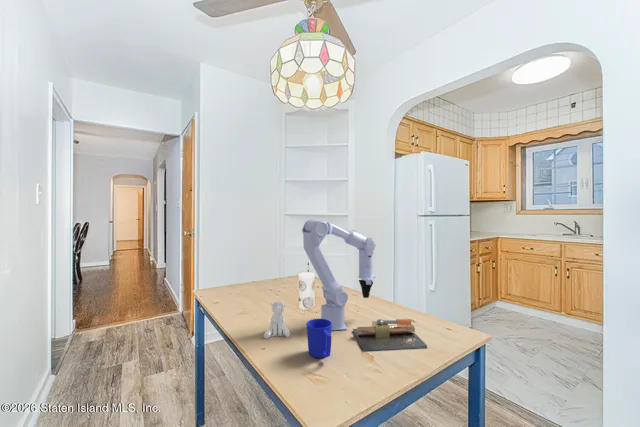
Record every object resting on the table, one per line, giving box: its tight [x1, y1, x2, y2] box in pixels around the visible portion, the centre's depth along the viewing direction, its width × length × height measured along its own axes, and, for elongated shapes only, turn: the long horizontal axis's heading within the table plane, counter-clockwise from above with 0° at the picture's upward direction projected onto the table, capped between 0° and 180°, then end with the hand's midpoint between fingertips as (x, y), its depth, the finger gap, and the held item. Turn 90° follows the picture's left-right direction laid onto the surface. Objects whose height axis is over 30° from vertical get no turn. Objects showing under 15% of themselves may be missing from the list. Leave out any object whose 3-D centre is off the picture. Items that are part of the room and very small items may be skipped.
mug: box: [305, 318, 332, 359], centre depth 92 cm, size 8×12×10 cm
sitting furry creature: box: [263, 301, 291, 340], centre depth 109 cm, size 10×9×12 cm
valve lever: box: [376, 318, 412, 325], centre depth 106 cm, size 12×2×1 cm, turn 88°
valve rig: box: [352, 320, 428, 352], centre depth 104 cm, size 22×16×5 cm
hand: (365, 297), depth 123 cm, fingers closed
